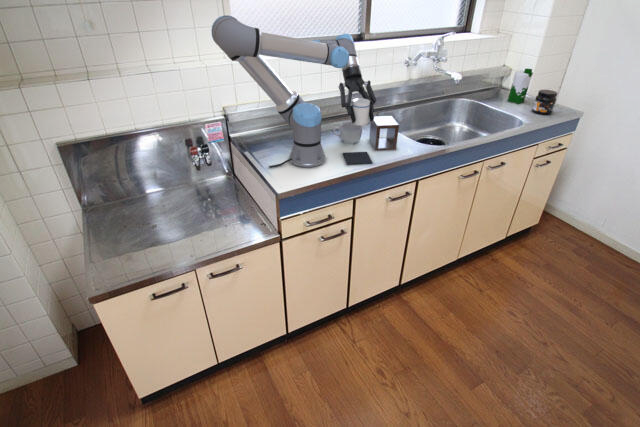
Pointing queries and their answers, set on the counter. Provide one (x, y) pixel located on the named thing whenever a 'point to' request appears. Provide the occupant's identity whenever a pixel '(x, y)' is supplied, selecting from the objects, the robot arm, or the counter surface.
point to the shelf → (392, 133)
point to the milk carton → (520, 86)
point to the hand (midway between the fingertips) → (363, 120)
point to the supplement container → (544, 102)
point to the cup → (361, 111)
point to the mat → (357, 158)
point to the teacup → (349, 132)
